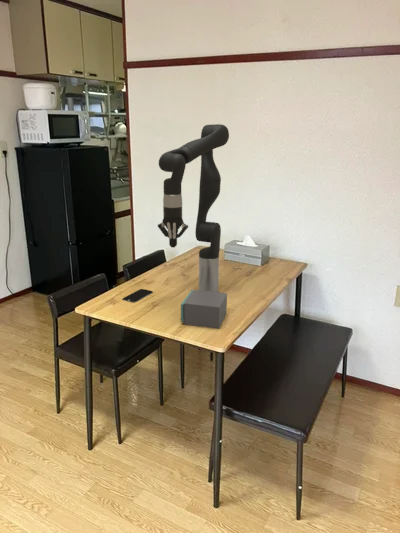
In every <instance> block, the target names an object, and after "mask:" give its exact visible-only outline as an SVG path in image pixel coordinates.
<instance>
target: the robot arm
mask: <svg viewBox="0 0 400 533" xmlns="http://www.w3.org/2000/svg"><path fill="white" fill-rule="evenodd" d="M229 132H230V131H229V128H228V127H227V126H226V125H225V124H222V123H220V124H219V123H218V124H205V125H204V126H203V127H202V129H201V134H200V138H196V139H193V140H191V141H188V142H187V143H185V144H183V145H182V146H180V147H178V148H174V149H172V150H168V151H166V152H164V153H162V154H161V155H160V157H159V159H158V167H159V169H160V170H162V171H163V172H166V173H171V176H170V177H167V178H166V179H164V180H163V199H162V202H163V203H162V204H163V206H162V207H163V208H162V209H163V210H162V211H163V212H162V213H163V219H162V222H160V223H159V224H157V227H158V230H160V231H161V233H162V234H163V235H164V237H166V238H168V240H169V243H168V245H169V247H170V248H176V247H177V245H178V238H181V237H182V235H183V234H184V233H185V232H186V230H188V228H189V225H188V224H186V223H185V222H184V220H183V197H182V183H183V178H184V174H185V171H186V165H187V164H190V163H191V162H192V161H194V160H196V159H197V158H198V157H201V158H200V160H201V161H200V176H199V177H200V178H199V189H198V190H199V195H198V210H197V217H196V224H195V232H194V233H195V239H196V241H198V242H201V243H203V242H204V243H209V244H210V246H208V247H204V248H201V249H200V250H199V251H198V290H201V291H211V292H219V276H220V273H219V271H220V269H219V268H220V251H221V250H220V249H221V248H220V247H221V235H222V234H221V233H222V231H221V230H222V229H221V228H222V227H221V224H220V223H218V222H215V221H207V216H208V213H209V211H210V210H211V207H212V206H213V204H214V202H216V201H217V199H218V197H219V195H220V193H221V179H222V178H221V174H220V172H219V169H218V166H217V165H216V163H215V161H214V160H215V159H214V150H215V149H217V148H220V147H223V146H225V145H226V144H227V143H228V142H229V138H230V133H229ZM180 228H181V230H180ZM179 230H180V231H179Z"/></svg>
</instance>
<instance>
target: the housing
mask: <svg viewBox="0 0 400 533" xmlns="http://www.w3.org/2000/svg"><path fill="white" fill-rule="evenodd" d="M227 304H228V293H227V292H220V291H218V292H211V291H201V290H199V289H194V291H193V292H192V294H191V295H190V296H189V298H188V299H187V300H186V302H185V303H184V322H183V323H184V326H185V325H187V326H195V327H202V328H203V327H204V328H210V329H220V328H221V326H222V323H223V321H224V319H225V317H226V314H227V312H228V311H227V310H228V309H227V307H228V306H227Z"/></svg>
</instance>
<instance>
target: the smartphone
mask: <svg viewBox="0 0 400 533" xmlns="http://www.w3.org/2000/svg"><path fill="white" fill-rule="evenodd" d="M153 293H154V291H153V290H150V289H145V288H140V289H137V290H136V291H134V292H132V293H130V294H128V295H126V296H124V297H122V299H121V300H122V301H124V302H129V303H133V304H134V303H135V304H136V303H137V302H140V301H141V300H143V299H144V298H146V297H148V296H151V295H152V294H153Z"/></svg>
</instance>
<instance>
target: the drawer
mask: <svg viewBox="0 0 400 533" xmlns="http://www.w3.org/2000/svg"><path fill="white" fill-rule="evenodd" d="M194 290H195V289H194ZM194 290H191V291H189V293H188V294H187V296H186V297H185V298H184V300H182V302H181V304H180V322H182V323H184V303H185V302H186V300H187V299H188V298H189V296H190V295H191V294H192V292H193V291H194Z"/></svg>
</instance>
